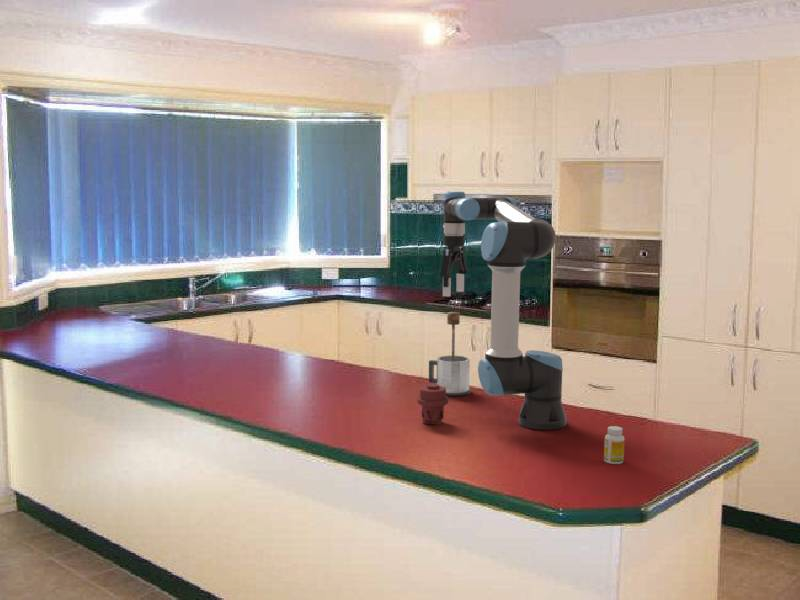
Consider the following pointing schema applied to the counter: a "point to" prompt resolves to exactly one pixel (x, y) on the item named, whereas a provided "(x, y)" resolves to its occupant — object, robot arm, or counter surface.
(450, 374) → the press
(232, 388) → the counter surface
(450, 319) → the plunger
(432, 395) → the mechanical component
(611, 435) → the supplement bottle
